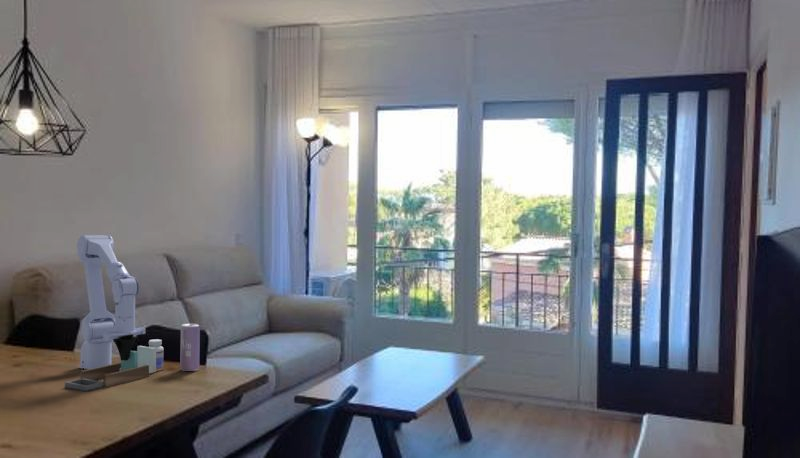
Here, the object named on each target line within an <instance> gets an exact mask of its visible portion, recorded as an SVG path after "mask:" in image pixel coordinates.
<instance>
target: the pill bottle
mask: <svg viewBox="0 0 800 458" xmlns="http://www.w3.org/2000/svg"><path fill="white" fill-rule="evenodd" d="M162 341H163V340H162V339H158V338H156V339H149V341H148V345H149V346H148V347H152V348H156V372H159V371H162V370H163V369H164V350H165V349H164V347H163V346H162V344H163V343H162Z"/></svg>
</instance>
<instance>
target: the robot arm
mask: <svg viewBox="0 0 800 458" xmlns="http://www.w3.org/2000/svg"><path fill="white" fill-rule="evenodd" d="M114 246H115V245H114V239H113V237H112V236H111V235H110V234H107V235H105V234H102V235H98V234H97V235H96V234H95V235H93V234H92V235H90V234H89V235H87V234H81V235H80V236H79V237H78V240H77V242H76V248H77V255H78V261H79V262H80V263H82V264H83V268H84V274H85V275H84V276H85V283H86V291H87V297H88V298H87V299H88V306H89V313H88V314H86V315H85V316H84V317H83V318H82V320H81V336H82V338H83V340H84V341H83V343H82V344H81V347H80V365H78V366H77V368H79V369H83V368H84V370H88V369H92V368H97V367H101V366H106V365H110V364H112V356H113V355H112V351H113V350H112V349H113V348H112V347H113V346H112V343H113V342H114V344H115V346H116V348H117V351H118V354H119V358H120V361H121V360H124V361H126V360H128V358H129V355H130V351H132V348H133V347H134V344H135V342H136V341H137V337H136V336H138V335H145V334H146V327H141V326H140V327H136V296H138V294H139V291H140V283H139V281H138V278H137V277H134V276H132V275H130V273H129V272H128V270H127V268H126V267H125V265H124V264H123V263H122V262H120V261H118V259H117V257H116V254H115V252H114ZM102 263H103V264H104V265H105V266H106V268H105V274H106V275H107V277H108V279H109V281H110V283H111V284H112V287H111V293H112V295H113V302H114V303H115V306H114V307H115V310H114V312H115V315H114V314H113V313H111V311H109V310H108V309H107V305H106V298H105V290H104V284H103V275H102V268H101V265H102Z"/></svg>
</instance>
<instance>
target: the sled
mask: <svg viewBox="0 0 800 458" xmlns="http://www.w3.org/2000/svg"><path fill="white" fill-rule="evenodd" d="M120 362H121V368H120V371H123V370H127V369H131V368H136V367H140V366H144V365H149V374H152V373H153V374H154V373H156V372H157V371H156V348H152V347H149V346H146V345H144V346H143V345H137V348H136V350H131V351H130V355H129V358H128V360H126V361H124V360H121V359H120Z"/></svg>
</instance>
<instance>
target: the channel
mask: <svg viewBox="0 0 800 458" xmlns="http://www.w3.org/2000/svg"><path fill="white" fill-rule="evenodd" d="M120 368H121V361H120V362H116V363H115V362H114V363H111V364H110V365H106V366H101V367H97V368H92V369H84V370H80V379H82V378H85V379H90V380H95V381H98V380H97V379H99V380H103V381H102V382H104V387H103V388H111V387H113V386H118V385H121V384H125V383H129V382H133V381H137V380H141V379H144V377H145V378H148V377H147V376H149V377H150V373H149V365H144V366H140V367H136V368H131V369H127V370H123V371H120ZM102 378H103V379H102ZM140 378H141V379H140Z"/></svg>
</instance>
